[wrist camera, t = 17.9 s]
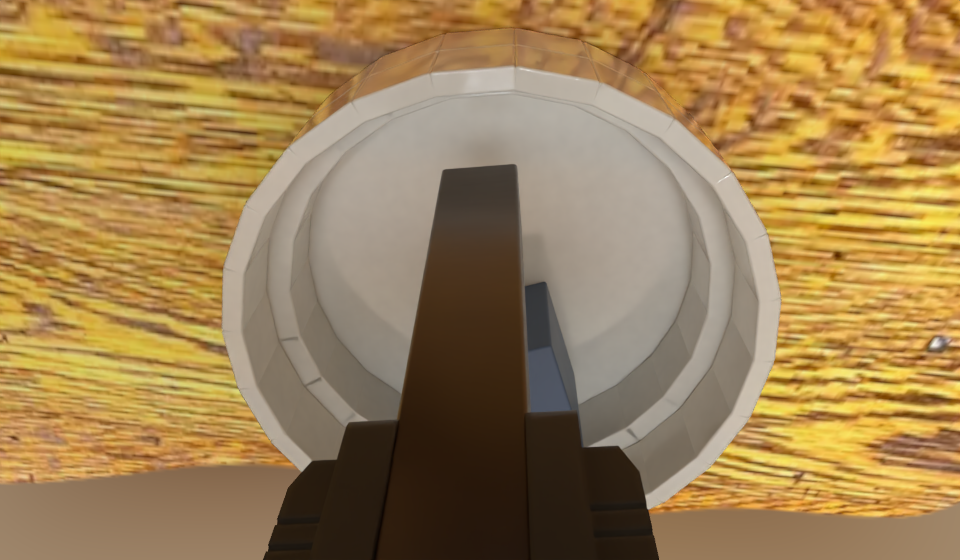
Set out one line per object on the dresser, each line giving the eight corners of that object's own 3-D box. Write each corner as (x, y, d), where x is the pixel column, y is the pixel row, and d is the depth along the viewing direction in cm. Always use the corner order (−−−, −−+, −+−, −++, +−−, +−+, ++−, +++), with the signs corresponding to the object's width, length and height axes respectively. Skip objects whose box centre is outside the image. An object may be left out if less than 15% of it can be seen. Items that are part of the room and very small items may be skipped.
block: (467, 399, 28) (462, 475, 25) (433, 308, 26) (421, 376, 23) (574, 374, 28) (584, 449, 24) (546, 280, 26) (551, 345, 22)
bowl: (320, 443, 30) (284, 553, 25) (227, 47, 23) (153, 94, 18) (714, 425, 29) (756, 536, 24) (744, 4, 22) (811, 42, 17)
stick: (449, 235, 19) (358, 915, 7) (441, 167, 18) (321, 811, 6) (521, 230, 19) (556, 913, 7) (517, 162, 18) (547, 806, 6)
